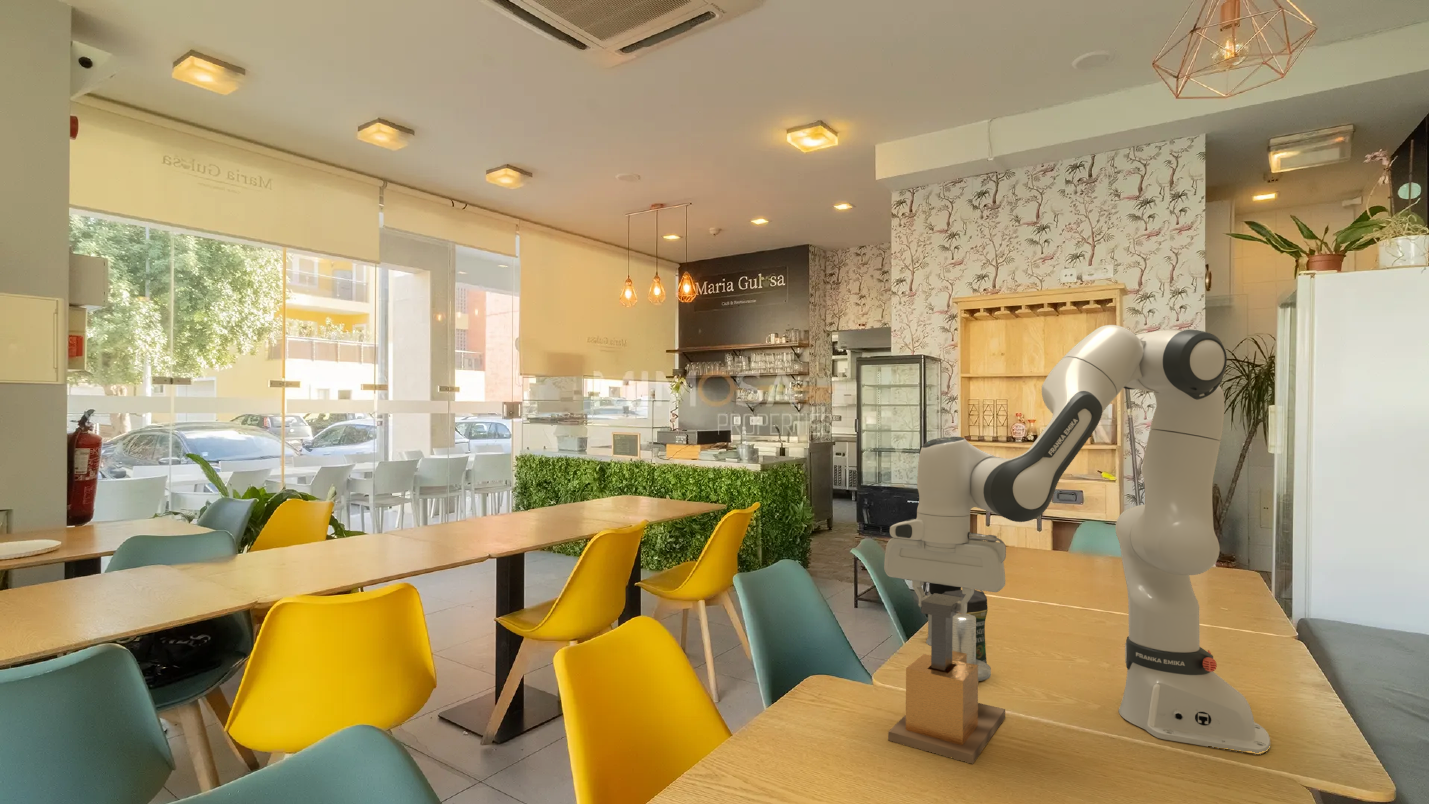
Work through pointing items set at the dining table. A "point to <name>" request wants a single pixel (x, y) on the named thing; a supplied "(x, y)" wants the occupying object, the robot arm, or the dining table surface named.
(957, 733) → the wooden slotted box
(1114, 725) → the dining table surface
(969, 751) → the walnut base board
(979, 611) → the coffee jar
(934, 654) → the grey t-shaped block
